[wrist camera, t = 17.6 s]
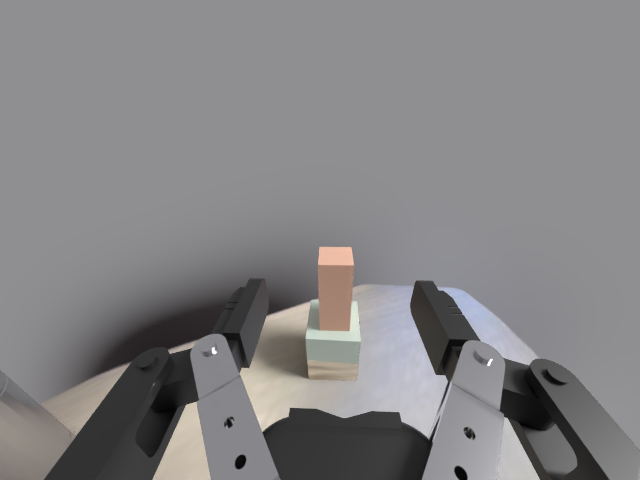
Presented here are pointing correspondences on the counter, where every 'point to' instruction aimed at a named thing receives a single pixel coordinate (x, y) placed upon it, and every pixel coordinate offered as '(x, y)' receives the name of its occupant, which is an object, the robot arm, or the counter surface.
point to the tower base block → (332, 370)
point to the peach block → (335, 288)
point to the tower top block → (332, 339)
